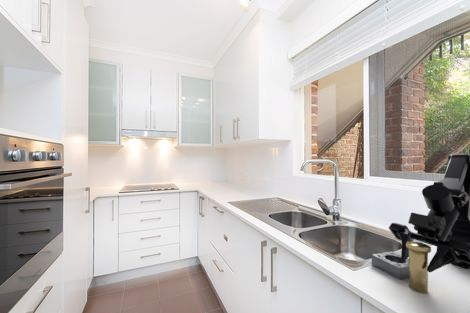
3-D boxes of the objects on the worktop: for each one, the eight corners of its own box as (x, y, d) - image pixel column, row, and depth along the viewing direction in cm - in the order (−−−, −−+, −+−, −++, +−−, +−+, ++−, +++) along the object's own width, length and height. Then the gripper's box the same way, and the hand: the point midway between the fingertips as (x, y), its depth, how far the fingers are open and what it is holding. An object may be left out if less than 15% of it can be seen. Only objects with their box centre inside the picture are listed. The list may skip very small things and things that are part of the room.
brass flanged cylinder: (414, 281, 61) (414, 240, 62) (435, 292, 56) (435, 247, 57) (401, 284, 60) (401, 242, 60) (422, 296, 55) (422, 250, 55)
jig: (391, 261, 74) (391, 251, 74) (420, 275, 65) (420, 263, 65) (371, 265, 71) (371, 254, 71) (399, 279, 62) (399, 267, 62)
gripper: (392, 197, 69) (368, 235, 65) (473, 211, 51) (446, 264, 47) (408, 219, 71) (385, 257, 67) (490, 239, 54) (466, 292, 50)
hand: (414, 265), depth 58 cm, fingers open, 6 cm apart
